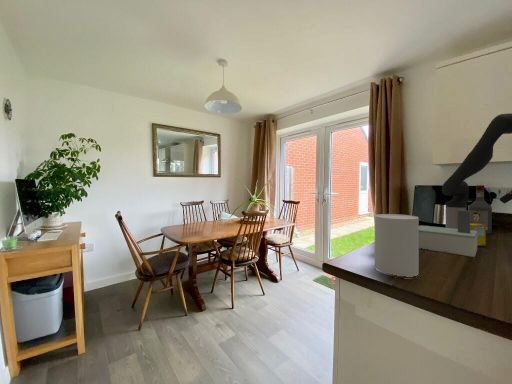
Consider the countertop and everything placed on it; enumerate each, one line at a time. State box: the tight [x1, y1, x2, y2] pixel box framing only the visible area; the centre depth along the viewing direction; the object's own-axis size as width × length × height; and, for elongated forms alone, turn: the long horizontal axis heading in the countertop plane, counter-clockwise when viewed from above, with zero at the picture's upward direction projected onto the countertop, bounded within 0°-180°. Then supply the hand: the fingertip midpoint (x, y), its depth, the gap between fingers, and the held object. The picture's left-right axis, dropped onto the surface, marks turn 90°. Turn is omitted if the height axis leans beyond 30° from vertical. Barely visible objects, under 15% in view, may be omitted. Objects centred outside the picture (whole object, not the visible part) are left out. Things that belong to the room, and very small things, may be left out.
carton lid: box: [419, 209, 477, 238], centre depth 108 cm, size 22×16×11 cm
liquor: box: [468, 184, 493, 235], centre depth 140 cm, size 9×9×30 cm
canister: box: [374, 213, 420, 277], centre depth 81 cm, size 14×14×20 cm
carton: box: [419, 232, 478, 258], centre depth 108 cm, size 22×16×8 cm
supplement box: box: [470, 223, 487, 248], centre depth 113 cm, size 6×6×11 cm
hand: (501, 201), depth 94 cm, fingers open, 8 cm apart
